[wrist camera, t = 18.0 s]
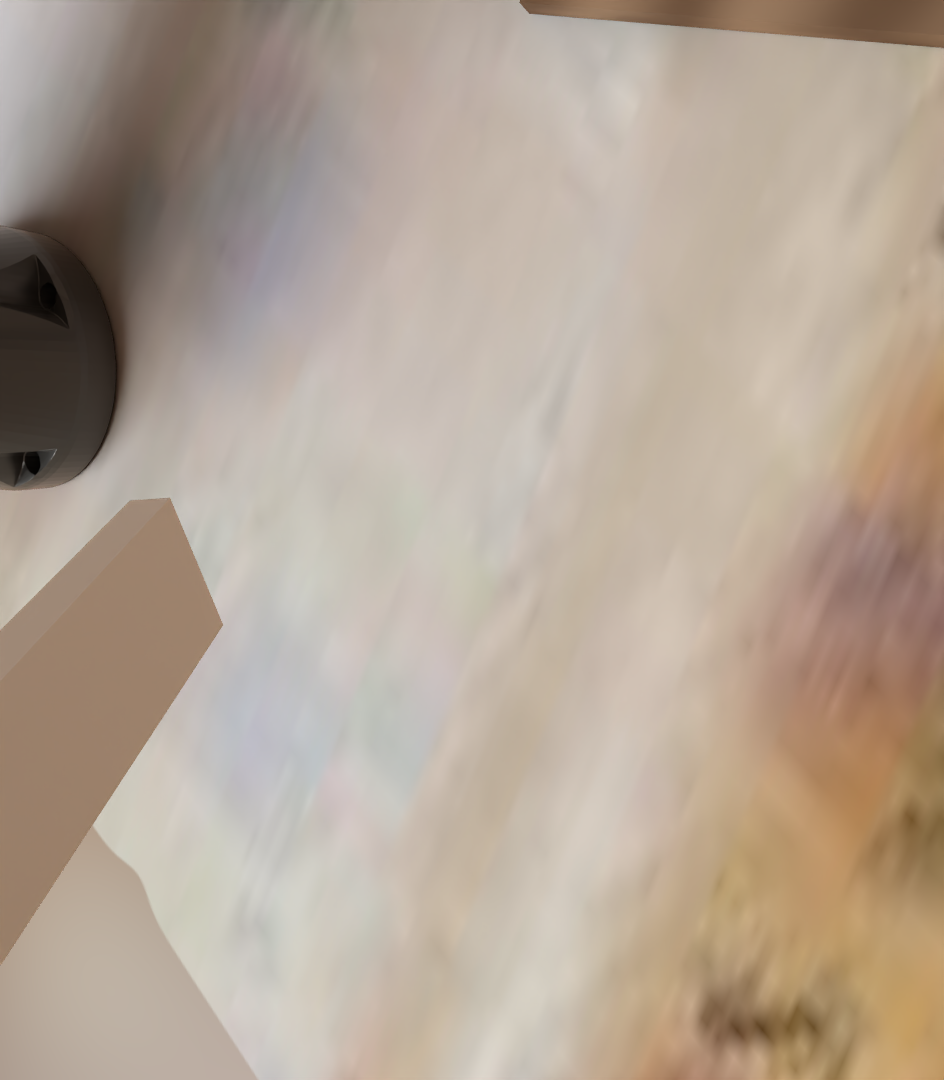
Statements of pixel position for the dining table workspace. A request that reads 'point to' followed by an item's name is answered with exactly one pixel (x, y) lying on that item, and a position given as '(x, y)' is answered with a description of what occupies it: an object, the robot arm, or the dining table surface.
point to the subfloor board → (773, 16)
